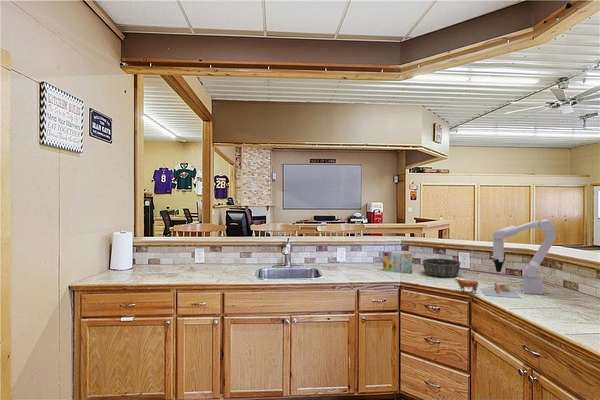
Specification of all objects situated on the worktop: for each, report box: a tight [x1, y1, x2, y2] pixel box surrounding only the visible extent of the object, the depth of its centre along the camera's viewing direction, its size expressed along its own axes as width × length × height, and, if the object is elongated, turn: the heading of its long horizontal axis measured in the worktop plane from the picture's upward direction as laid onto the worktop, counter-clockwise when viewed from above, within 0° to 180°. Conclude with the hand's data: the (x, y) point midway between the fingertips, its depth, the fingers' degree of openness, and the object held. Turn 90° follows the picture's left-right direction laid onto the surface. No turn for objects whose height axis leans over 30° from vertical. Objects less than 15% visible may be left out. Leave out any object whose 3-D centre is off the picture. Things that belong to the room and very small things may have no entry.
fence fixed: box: [494, 282, 510, 292], centre depth 215 cm, size 8×1×5 cm, turn 72°
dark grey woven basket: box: [421, 257, 462, 278], centre depth 265 cm, size 26×26×10 cm
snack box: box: [382, 250, 413, 274], centre depth 277 cm, size 21×6×15 cm, turn 58°
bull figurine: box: [453, 276, 479, 295], centre depth 216 cm, size 4×13×8 cm, turn 51°
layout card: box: [480, 288, 522, 299], centre depth 212 cm, size 18×16×1 cm
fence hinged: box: [494, 283, 499, 293], centre depth 212 cm, size 6×1×4 cm, turn 162°
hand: (498, 271), depth 223 cm, fingers closed
